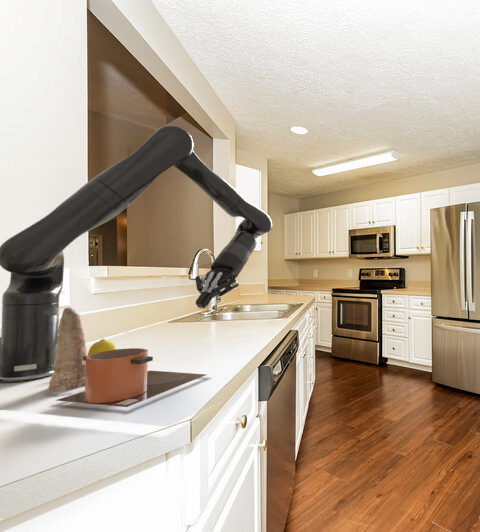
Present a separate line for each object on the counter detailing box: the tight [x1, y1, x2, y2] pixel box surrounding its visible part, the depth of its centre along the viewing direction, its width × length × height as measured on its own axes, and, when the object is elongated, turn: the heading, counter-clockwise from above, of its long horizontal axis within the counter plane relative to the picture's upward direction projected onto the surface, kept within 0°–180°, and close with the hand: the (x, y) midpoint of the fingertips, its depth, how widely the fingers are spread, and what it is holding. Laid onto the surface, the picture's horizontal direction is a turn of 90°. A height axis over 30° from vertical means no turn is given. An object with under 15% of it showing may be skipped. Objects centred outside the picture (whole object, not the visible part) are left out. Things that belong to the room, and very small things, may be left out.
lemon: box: [87, 338, 117, 356], centre depth 86 cm, size 6×6×8 cm
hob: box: [55, 370, 208, 408], centre depth 72 cm, size 16×20×1 cm
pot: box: [83, 347, 154, 404], centre depth 67 cm, size 13×9×8 cm
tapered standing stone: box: [48, 307, 88, 392], centre depth 71 cm, size 6×18×6 cm
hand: (199, 306), depth 90 cm, fingers closed
